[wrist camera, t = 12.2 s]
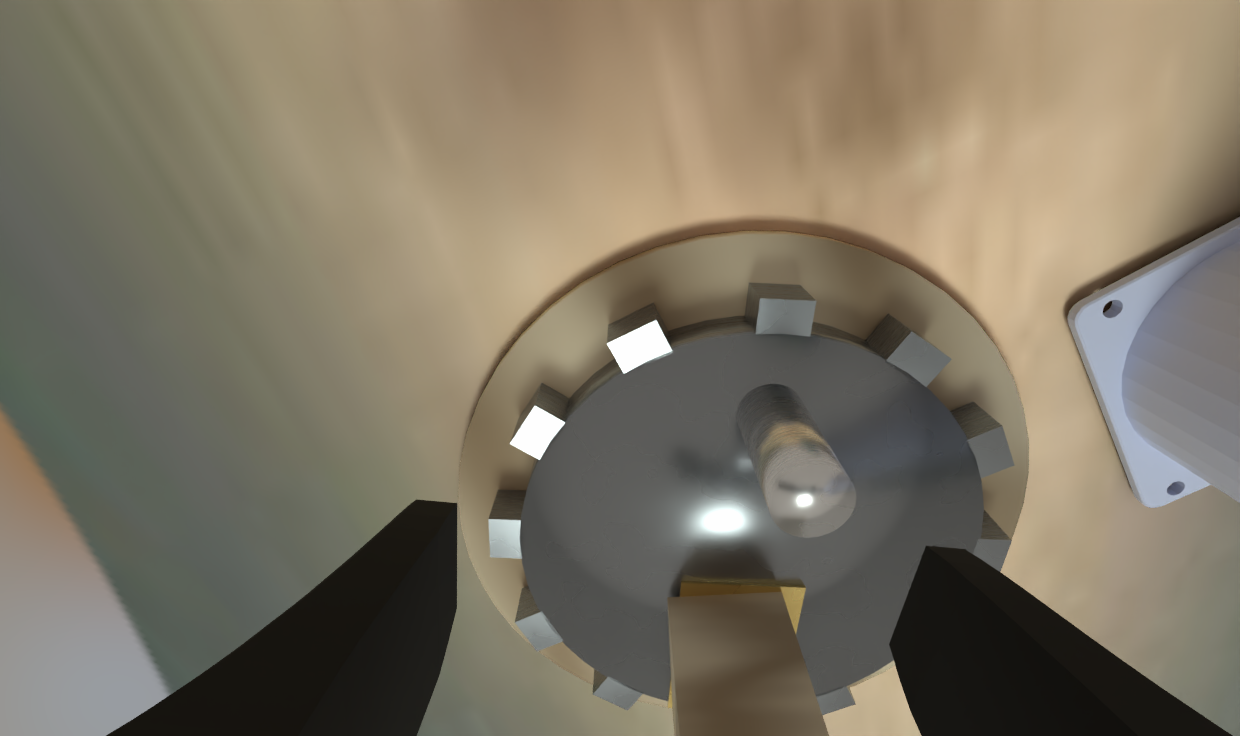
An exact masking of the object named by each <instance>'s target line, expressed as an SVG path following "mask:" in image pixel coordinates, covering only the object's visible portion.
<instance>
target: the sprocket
mask: <svg viewBox="0 0 1240 736" xmlns="http://www.w3.org/2000/svg"><path fill="white" fill-rule="evenodd" d="M815 306H816V300H815V299H814V298H813V297H812V296H811V295H810V294H809V293H808V292H807V291H806V290H805V289H804V288H803V287H802V286H801V285H792V284H771V283H749V285H748V293H747V301H746V308H745V316H733V317H726V318H719V319H712V320H705V321H702V322H698V323H694V324H690V325H687V326H683V327H679V328H676V329H673V330H670V331H668V330H667V328H666V326H665V324H664V322H663V320H662V318H661V316H660V314H659V312H658V310H657V308H656V307H655V305H654V303H651V304H649V305H647V306H645V307H643V308H641V309H639V310H637V311H635V312H633V313H631V314H629V315H627V316H625V317H623V318H621V319H619V320H617V321H615V322H612V323H610V324H608V336H607V345H608V346H609V348H610V350H611V352H612V354H613V355H614V357H615V358H614V359H613V360H612V361H610V362H609V363H608V364H606V365H605V366H604V367H602V368H601V369H600V370H598V371H597V372H596V373H594V374H593V375H592V376H591V377H590V378H589V379H588V380H587V381H586V382H585V383H584V384H583V385H582V386H581V387H580V388H579V389H578V390H577V391H576V392H575V393H573V395H572V396H571V397H570V398H568V397H566V396H565V395H563V394H561V393H559V392H558V391H556V390H554V389H552V388H551V387H549V386H547V385H545V384H543V383H541V384H540V386H539V387H538V389H537V390H536V392H535V393H534V395H533V397H532V398H531V400H530V401H529V403H528V404H527V406H526V407H525V409H524V410H523V412H522V413H521V415H520V417H519V418H518V421H517V424H516V427H515V430H514V433H513V436H512V439H511V442H510V444H511V445H513V446H514V447H516V448H518V449H520V450H522V451H524V452H526V453H527V454H529V455H531V456H533V457H535V460H534V463H533V467H532V471H531V475H530V479H529V483H528V487H527V491H523V490H499V489H498V491H497V494H496V497H495V500H494V503H493V506H492V509H491V512H490V516H489V519H488V522H489V544H490V557H492V558H518V559H522V565H523V569H524V572H525V576H526V580H527V583H528V586H526V587H524V588H522V590H521V595H520V599H519V604H518V609H517V614H516V618H515V624H516V625H517V626H518V627H519V629H520V630H521V631H522V633H523V634H524V635H525V637H526V638H527V639H528V640H529V642H530V643H531V644H532V646H533V647H534V648H535V650H536V651H540V650H542V649H545V648H547V647H550V646H553V645H555V644H558V643H560V642H563V643H564V644H565V645H566V646H567V647H568V648H569V649H570V650H571V651H572V652H574V653H575V654H576V655H577V656H578V657H579V658H580V659H581V660H583V661H584V662H585V663H587V664H588V665H589V666H591V667H592V668H594V680H593V695H595V696H597V697H600V698H602V699H604V700H606V701H608V702H611V703H613V704H615V705H617V706H619V707H621V708H624V709H626V710H628V709H629V708H630V707H631V706H632V705H633V704H634V703H635V702H636V701H637V700H638V699H639V697H640V696H641V695H642V694H645V695H647V696H651V697H654V698H658V699H661V700H665V701H668V708H672V688H671V667H670V646H669V624H668V603H667V597H685V596H706V595H727V594H747V593H768V592H782V594H783V597H784V600H785V603H786V606H787V609H788V613H789V616H790V619H791V622H792V625H793V628H794V631H795V634H796V637H797V640H798V643H799V646H800V649H801V652H802V655H803V658H804V661H805V664H806V667H807V670H808V673H809V676H810V680H811V683H812V686H813V689H814V692H815V695H816V698H817V701H818V704H819V707H820V710H821V713H822V715H824V714H827V713H830V712H833V711H836V710H839V709H842V708H845V707H848V706H851V705H854V704H855V701H854V699H853V696H852V693H851V691H850V688H849V686H848V685H851V684H853V683H855V682H857V681H859V680H861V679H863V678H865V677H867V676H869V675H871V674H873V673H875V672H876V671H878V670H879V669H881V668H883V667H884V666H886V665H887V664H889V663H890V662H892V661H893V660H894V659H893V656H892V652H891V649H890V646H889V643H890V640H891V637H892V635H893V632H894V629H895V627H896V624H897V621H898V619H899V616H900V613H901V611H902V608H903V605H904V603H905V600H906V597H907V595H908V592H909V589H910V587H911V584H912V581H913V579H914V576H915V573H916V571H917V568H918V565H919V563H920V560H921V558H922V555H923V552H924V550H925V547H926V546H937V547H948V548H959V549H965V550H967V551H969V552H970V553H972V554H973V555H975V556H977V557H978V558H980V559H981V560H983V561H984V562H986V563H987V564H989V565H990V566H992V567H993V568H995V569H996V570H998V571H999V572H1000V571H1001V568H1002V566H1003V563H1004V560H1005V558H1006V555H1007V552H1008V549H1009V547H1010V544H1011V541H1012V540H1011V539H1010V538H1009V537H1008V535H1007V534H1006V533H1005V532H1004V531H1003V530H1002V529H1001V528H1000V527H999V525H998V524H997V523H996V522H995V521H994V520H993V519H992V518H991V517H990V515H989V514H988V513H987V512H986V511H985V510H984V504H983V490H982V481H981V478H983V477H986V476H989V475H991V474H994V473H996V472H999V471H1001V470H1004V469H1007V468H1009V467H1012V466H1014V462H1013V458H1012V455H1011V452H1010V449H1009V445H1008V442H1007V439H1006V436H1005V433H1004V429H1003V426H1002V425H1001V424H1000V423H998V422H997V421H996V420H995V419H994V418H992V417H991V416H990V415H989V414H988V413H986V412H985V411H984V410H983V409H982V408H981V407H979V406H978V405H977V404H976V403H975V402H970V403H968V404H966V405H963V406H961V407H958V408H956V409H954V410H951V411H949V410H948V409H947V408H946V407H945V405H944V404H943V403H942V402H941V401H940V400H939V399H938V398H937V397H936V396H935V395H934V394H933V393H932V391H931V390H929V389H928V388H927V386H928V384H929V383H930V382H931V381H932V380H933V379H934V378H935V377H936V376H937V375H938V374H939V373H940V372H941V370H942V369H943V368H944V367H945V366H946V365H947V364H948V363H949V362H950V361H951V360H952V359H951V358H950V357H949V356H947V355H946V354H945V353H943V352H942V351H941V350H939V349H938V348H937V347H935V346H934V345H933V344H932V343H930V342H929V341H928V340H926V339H925V338H923V337H922V336H921V335H919V334H918V333H916V332H915V331H913V330H912V329H910V328H909V327H907V326H906V325H905V324H903V323H902V322H900V321H899V320H897V319H896V318H894V317H893V316H891V315H890V314H889V313H888V314H887V315H886V316H885V317H884V318H883V320H882V321H881V322H880V323H879V324H878V326H877V327H876V328H875V329H874V330H873V331H872V333H871V334H870V335H869V336H868V337H867V338H866V340H864V339H862V338H860V337H858V336H855V335H853V334H850V333H848V332H845V331H843V330H840V329H838V328H835V327H833V326H829V325H825V324H821V323H817V322H813V317H814V312H815Z"/></svg>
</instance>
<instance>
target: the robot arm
mask: <svg viewBox="0 0 1240 736" xmlns="http://www.w3.org/2000/svg"><path fill="white" fill-rule="evenodd" d="M1109 301H1112V305H1111V307H1110V309H1109V310H1107V311H1106V312H1105V313H1103V308H1104V306H1105V305H1106V304H1107V303H1108V302H1109ZM1067 318H1068V324H1069V327H1070V329H1071V332H1072V335H1073V337H1074V340H1075V342H1076V345H1077V348H1078V350H1079V353H1080V355H1081V358H1082V361H1083V363H1084V366H1085V368H1086V371H1087V374H1088V376H1089V379H1090V381H1091V384H1092V387H1093V389H1094V392H1095V394H1096V397H1097V400H1098V402H1099V405H1100V407H1101V410H1102V413H1103V415H1104V418H1105V420H1106V423H1107V426H1108V428H1109V431H1110V433H1111V436H1112V439H1113V441H1114V444H1115V446H1116V449H1117V452H1118V454H1119V457H1120V459H1121V462H1122V465H1123V467H1124V470H1125V472H1126V475H1127V478H1128V480H1129V483H1130V485H1131V488H1132V491H1133V493H1134V496H1135V497H1136V499H1137V500H1138V501H1140V502H1141V503H1142V504H1143V505H1145V506H1147V507H1149V508H1156V507H1160V506H1163V505H1166V504H1168V503H1170V502H1172V501H1175V500H1177V499H1179V498H1182V497H1184V496H1186V495H1188V494H1191V493H1193V492H1195V491H1198V490H1200V489H1202V488H1204V487H1207V486H1209V485H1213V486H1214V487H1216V488H1217V489H1219V490H1220V491H1222V492H1224V493H1225V494H1227V495H1228V496H1230V497H1231V498H1233V499H1234V500H1236V501H1238V502H1239V503H1240V217H1238V218H1236V219H1235V220H1233V221H1231V222H1229V223H1227V224H1225V225H1223V226H1221V227H1219V228H1217V229H1215V230H1214V231H1212V232H1210V233H1208V234H1206V235H1204V236H1202V237H1200V238H1198V239H1196V240H1194V241H1193V242H1191V243H1189V244H1187V245H1185V246H1183V247H1181V248H1179V249H1177V250H1175V251H1173V252H1172V253H1170V254H1168V255H1166V256H1164V257H1162V258H1160V259H1158V260H1156V261H1154V262H1152V263H1151V264H1149V265H1147V266H1145V267H1143V268H1141V269H1139V270H1137V271H1135V272H1133V273H1131V274H1130V275H1128V276H1126V277H1124V278H1122V279H1120V280H1118V281H1116V282H1114V283H1112V284H1110V285H1109V286H1107V287H1105V288H1103V289H1101V290H1099V291H1097V292H1095V293H1093V294H1091V295H1089V296H1087V297H1086V298H1084V299H1082V300H1080V301H1079V302H1077V303H1076V304H1075V305H1074V306H1073V307H1072V308H1071V310H1070V311H1069V314H1068V317H1067ZM1170 484H1172V485H1170ZM1169 485H1170V486H1169ZM456 609H457V503H448V502H437V501H426V500H415V501H414V502H413V503H411V504H410V505H409V506H408V507H406V508H405V509H404V510H403V511H402V512H401V513H400V514H399V515H397V516H396V517H395V518H394V519H393V520H392V521H391V522H390V523H389V524H387V525H386V526H385V527H384V528H383V529H382V530H381V531H380V532H379V533H378V534H376V535H375V536H374V537H373V538H372V539H371V540H370V541H369V542H367V543H366V544H365V545H364V546H363V547H362V548H361V549H360V550H358V551H357V552H356V553H355V554H354V555H353V556H352V557H350V558H349V559H348V560H347V561H346V562H345V563H343V564H342V565H341V566H340V567H339V568H337V569H336V570H335V571H334V572H333V573H332V574H330V575H329V576H328V577H327V578H326V579H324V580H323V581H322V582H321V583H320V584H319V585H317V586H316V587H315V588H314V589H313V590H311V591H310V592H309V593H308V594H307V595H305V596H304V597H303V598H302V599H300V600H299V601H298V602H297V603H295V604H294V605H293V606H292V607H290V608H289V609H288V610H286V611H285V612H284V613H283V614H281V615H280V616H279V617H277V618H276V619H275V620H273V621H272V622H271V623H270V624H268V625H267V626H266V627H264V628H263V629H262V630H261V631H259V632H258V633H257V634H255V635H254V636H253V637H251V638H250V639H249V640H248V641H246V642H245V643H244V644H242V645H241V646H240V647H238V648H237V649H236V650H234V651H233V652H231V653H230V654H229V655H227V656H226V657H225V658H223V659H222V660H220V661H219V662H218V663H216V664H215V665H213V666H212V667H211V668H209V669H208V670H206V671H205V672H203V673H202V674H201V675H199V676H198V677H196V678H195V679H193V680H192V681H191V682H189V683H188V684H186V685H185V686H183V687H182V688H180V689H179V690H177V691H176V692H174V693H173V694H171V695H170V696H168V697H167V698H165V699H164V700H162V701H161V702H159V703H158V704H156V705H155V706H153V707H152V708H150V709H148V710H147V711H145V712H144V713H142V714H141V715H139V716H138V717H136V718H134V719H133V720H131V721H130V722H128V723H126V724H125V725H123V726H121V727H120V728H118V729H116V730H115V731H113V732H111V733H110V734H108V735H107V736H417V733H418V731H419V728H420V725H421V723H422V720H423V717H424V715H425V712H426V709H427V707H428V704H429V701H430V699H431V696H432V693H433V691H434V688H435V685H436V683H437V680H438V677H439V674H440V671H441V667H442V663H443V660H444V656H445V652H446V648H447V645H448V641H449V637H450V633H451V629H452V625H453V621H454V617H455V613H456ZM889 646H890V649H891V652H892V656H893V659H894V662H895V665H896V669H897V672H898V675H899V678H900V682H901V684H902V687H903V690H904V693H905V696H906V699H907V702H908V705H909V708H910V711H911V713H912V715H913V718H914V720H915V722H916V724H917V726H918V729H919V731H920V733H921V735H922V736H1232V735H1231V734H1229V733H1228V732H1226V731H1225V730H1223V729H1222V728H1220V727H1219V726H1217V725H1216V724H1214V723H1213V722H1211V721H1210V720H1208V719H1207V718H1205V717H1204V716H1202V715H1201V714H1199V713H1198V712H1196V711H1195V710H1193V709H1192V708H1190V707H1189V706H1187V705H1186V704H1184V703H1183V702H1182V701H1180V700H1179V699H1177V698H1176V697H1174V696H1173V695H1171V694H1170V693H1168V692H1167V691H1165V690H1164V689H1162V688H1161V687H1159V686H1158V685H1157V684H1155V683H1154V682H1152V681H1151V680H1149V679H1148V678H1146V677H1145V676H1144V675H1142V674H1141V673H1139V672H1138V671H1136V670H1135V669H1134V668H1132V667H1131V666H1129V665H1128V664H1127V663H1125V662H1124V661H1122V660H1121V659H1119V658H1118V657H1117V656H1115V655H1114V654H1112V653H1111V652H1110V651H1108V650H1107V649H1106V648H1104V647H1103V646H1101V645H1100V644H1099V643H1097V642H1096V641H1094V640H1093V639H1092V638H1090V637H1089V636H1087V635H1086V634H1085V633H1083V632H1082V631H1081V630H1079V629H1078V628H1076V627H1075V626H1074V625H1072V624H1071V623H1070V622H1068V621H1067V620H1065V619H1064V618H1063V617H1061V616H1060V615H1059V614H1057V613H1056V612H1055V611H1053V610H1052V609H1050V608H1049V607H1048V606H1046V605H1045V604H1044V603H1042V602H1041V601H1039V600H1038V599H1037V598H1035V597H1034V596H1033V595H1031V594H1030V593H1028V592H1027V591H1026V590H1024V589H1023V588H1022V587H1020V586H1019V585H1017V584H1016V583H1015V582H1013V581H1012V580H1010V579H1009V578H1008V577H1006V576H1005V575H1003V574H1002V573H1000V572H999V571H998V570H996V569H995V568H993V567H992V566H990V565H989V564H987V563H986V562H984V561H983V560H981V559H980V558H978V557H977V556H975V555H973V554H972V553H970V552H969V551H967V550H965V549H959V548H948V547H937V546H926V547H925V550H924V552H923V555H922V558H921V560H920V563H919V565H918V568H917V571H916V573H915V576H914V579H913V581H912V584H911V587H910V589H909V592H908V595H907V597H906V600H905V603H904V605H903V608H902V611H901V613H900V616H899V619H898V621H897V624H896V627H895V629H894V632H893V635H892V637H891V640H890V643H889Z"/></svg>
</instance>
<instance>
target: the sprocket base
mask: <svg viewBox="0 0 1240 736" xmlns="http://www.w3.org/2000/svg"><path fill="white" fill-rule="evenodd" d="M749 283H771V284H792V285H801V286H802V287H803V288H804V289H805V290H806V291H807V292H808V293H809V294H810V295H811V296H812V297H813V298H814V299H815V300H816V306H815V312H814V317H813V322H817V323H821V324H825V325H829V326H833V327H835V328H838V329H840V330H843V331H845V332H848V333H850V334H853V335H855V336H858V337H860V338H862V339H864V340H866V338H867V337H868V336H869V335H870V334H871V333H872V331H873V330H874V329H875V328H876V327H877V326H878V324H879V323H880V322H881V321H882V320H883V318H884V317H885V316H886V315H887V314H888V313H889V314H890V315H891V316H893V317H894V318H896V319H897V320H899V321H900V322H902V323H903V324H905V325H906V326H907V327H909V328H910V329H912V330H913V331H915V332H916V333H918V334H919V335H921V336H922V337H923V338H925V339H926V340H928V341H929V342H930V343H932V344H933V345H934V346H935V347H937V348H938V349H939V350H941V351H942V352H943V353H945V354H946V355H947V356H949V357H950V358H951V359H952V360H951V361H950V362H949V363H948V364H947V365H946V366H945V367H944V368H943V369H942V370H941V372H940V373H939V374H938V375H937V376H936V377H935V378H934V379H933V380H932V381H931V382H930V383H929V384H928V386H927V388H928V389H929V390H931V391H932V393H933V394H934V395H935V396H936V397H937V398H938V399H939V400H940V401H941V402H942V403H943V404H944V405H945V407H946V408H947V409H948V410H949V411H951V410H954V409H956V408H958V407H961V406H963V405H966V404H968V403H970V402H975V403H976V404H977V405H978V406H979V407H981V408H982V409H983V410H984V411H985V412H986V413H988V414H989V415H990V416H991V417H992V418H994V419H995V420H996V421H997V422H998V423H1000V424H1001V425H1002V426H1003V429H1004V433H1005V436H1006V439H1007V442H1008V445H1009V449H1010V452H1011V455H1012V458H1013V462H1014V466H1012V467H1009V468H1007V469H1004V470H1001V471H999V472H996V473H994V474H991V475H989V476H986V477H983V478H981V481H982V490H983V504H984V510H985V511H986V512H987V513H988V514H989V515H990V517H991V518H992V519H993V520H994V521H995V522H996V523H997V524H998V525H999V527H1000V528H1001V529H1002V530H1003V531H1004V532H1005V533H1006V534H1007V535H1008V537H1009V538H1010V539H1012V536H1013V534H1014V531H1015V528H1016V525H1017V522H1018V519H1019V516H1020V513H1021V510H1022V507H1023V503H1024V497H1025V491H1026V485H1027V479H1028V468H1029V440H1028V433H1027V427H1026V421H1025V414H1024V408H1023V405H1022V402H1021V400H1020V397H1019V394H1018V391H1017V388H1016V385H1015V382H1014V379H1013V376H1012V374H1011V373H1010V371H1009V369H1008V367H1007V365H1006V363H1005V362H1004V360H1003V358H1002V356H1001V354H1000V352H999V351H998V349H997V347H996V345H995V344H994V343H993V342H992V340H991V339H990V338H989V337H988V335H987V334H986V333H985V331H984V330H983V329H982V328H981V326H980V325H979V324H978V323H977V321H976V320H975V319H974V318H973V317H972V316H971V315H970V314H969V313H968V312H967V311H966V310H965V309H963V308H962V307H961V306H960V305H959V304H958V303H957V302H956V301H955V300H954V299H953V298H951V297H950V296H949V295H948V294H947V293H946V292H944V291H943V290H941V289H940V288H938V287H937V286H935V285H934V284H932V283H931V282H929V281H928V280H926V279H925V278H923V277H922V276H920V275H918V274H917V273H915V272H914V271H912V270H910V269H909V268H907V267H905V266H903V265H901V264H899V263H897V262H895V261H892V260H890V259H888V258H886V257H884V256H881V255H879V254H877V253H875V252H873V251H871V250H868V249H865V248H862V247H859V246H855V245H852V244H848V243H845V242H842V241H838V240H835V239H831V238H828V237H821V236H815V235H808V234H801V233H795V232H788V231H736V232H727V233H719V234H710V235H702V236H697V237H693V238H689V239H685V240H681V241H677V242H673V243H669V244H665V245H661V246H657V247H655V248H652V249H650V250H647V251H645V252H642V253H640V254H637V255H635V256H632V257H630V258H627V259H624V260H622V261H619V262H617V263H616V264H614V265H612V266H610V267H608V268H606V269H605V270H603V271H601V272H599V273H597V274H596V275H594V276H592V277H590V278H588V279H587V280H585V281H583V282H581V283H580V284H579V285H577V286H576V287H575V288H573V289H572V290H571V291H569V292H568V293H567V294H565V295H564V296H563V297H561V298H560V299H558V300H557V301H556V302H554V303H553V304H552V305H550V306H549V307H548V308H547V309H546V310H545V311H544V312H543V313H542V314H541V315H540V316H539V317H538V318H537V319H536V320H535V321H534V322H533V323H532V324H531V325H530V326H529V327H528V328H527V329H526V330H525V331H524V332H523V333H522V334H521V335H520V337H519V338H518V339H517V340H516V342H515V343H514V344H513V346H512V347H511V348H510V350H509V351H508V352H507V353H506V355H505V356H504V357H503V359H502V360H501V361H500V363H499V364H498V366H497V368H496V370H495V372H494V373H493V375H492V377H491V379H490V381H489V382H488V384H487V386H486V388H485V389H484V391H483V393H482V395H481V397H480V399H479V401H478V404H477V407H476V409H475V412H474V415H473V417H472V420H471V422H470V425H469V428H468V430H467V433H466V438H465V442H464V447H463V452H462V457H461V462H460V470H459V490H458V500H459V509H460V519H461V527H462V531H463V535H464V539H465V542H466V546H467V550H468V554H469V557H470V559H471V561H472V564H473V566H474V568H475V570H476V573H477V575H478V577H479V580H480V582H481V584H482V585H483V587H484V589H485V590H486V592H487V593H488V595H489V597H490V598H491V600H492V602H493V603H494V605H495V606H496V608H497V609H498V610H499V611H500V613H501V614H502V615H503V616H504V617H505V619H506V620H507V621H508V622H509V624H510V625H511V626H512V627H513V628H514V630H515V631H517V632H518V633H519V634H520V635H521V636H522V637H523V638H524V639H525V640H526V641H527V642H528V643H529V644H531V643H530V642H529V640H528V639H527V638H526V637H525V635H524V634H523V633H522V631H521V630H520V629H519V627H518V626H517V625H516V624H515V618H516V614H517V609H518V604H519V599H520V595H521V590H522V588H524V587H526V586H528V583H527V580H526V576H525V572H524V569H523V565H522V559H518V558H492V557H490V544H489V522H488V519H489V516H490V512H491V509H492V506H493V503H494V500H495V497H496V494H497V491H498V489H499V490H523V491H527V487H528V483H529V479H530V475H531V471H532V467H533V463H534V460H535V457H533V456H531V455H529V454H527V453H526V452H524V451H522V450H520V449H518V448H516V447H514V446H513V445H511V444H510V442H511V439H512V436H513V433H514V430H515V427H516V424H517V421H518V418H519V417H520V415H521V413H522V412H523V410H524V409H525V407H526V406H527V404H528V403H529V401H530V400H531V398H532V397H533V395H534V393H535V392H536V390H537V389H538V387H539V386H540V384H541V383H543V384H545V385H547V386H549V387H551V388H552V389H554V390H556V391H558V392H559V393H561V394H563V395H565V396H566V397H568V398H570V397H571V396H572V395H573V393H575V392H576V391H577V390H578V389H579V388H580V387H581V386H582V385H583V384H584V383H585V382H586V381H587V380H588V379H589V378H590V377H591V376H592V375H593V374H594V373H596V372H597V371H598V370H600V369H601V368H602V367H604V366H605V365H606V364H608V363H609V362H610V361H612V360H613V359H614V358H615V357H614V355H613V354H612V352H611V350H610V348H609V346H608V345H607V336H608V324H610V323H612V322H615V321H617V320H619V319H621V318H623V317H625V316H627V315H629V314H631V313H633V312H635V311H637V310H639V309H641V308H643V307H645V306H647V305H649V304H651V303H654V305H655V307H656V308H657V310H658V312H659V314H660V316H661V318H662V320H663V322H664V324H665V326H666V328H667V330H668V331H670V330H673V329H676V328H679V327H683V326H687V325H690V324H694V323H698V322H702V321H705V320H712V319H719V318H726V317H733V316H745V308H746V301H747V293H748V285H749ZM531 645H532V644H531ZM539 652H540V653H541V654H543V655H544V656H545V657H547V658H548V659H550V660H551V661H552V662H554V663H555V664H557V665H558V666H559V667H561V668H563V669H564V670H566V671H568V672H570V673H572V674H573V675H575V676H577V677H579V678H580V679H582V680H584V681H586V682H588V683H591V684H593V680H594V668H592V667H591V666H589V665H588V664H587V663H585V662H584V661H583V660H581V659H580V658H579V657H578V656H577V655H576V654H575V653H574V652H572V651H571V650H570V649H569V648H568V647H567V646H566V645H565V644H564V643H563V642H560V643H558V644H555V645H553V646H550V647H547V648H545V649H542V650H540V651H539ZM893 666H895V662H894V660H893V661H892V662H890V663H889V664H887V665H886V666H884V667H883V668H881V669H879V670H878V671H876V672H875V673H873V674H871V675H869V676H867V677H865V678H863V679H861V680H859V681H857V682H855V683H853V684H851V685H848V686H849V688H850V687H852V686H855V685H857V684H860V683H862V682H864V681H866V680H868V679H870V678H872V677H874V676H876V675H878V674H880V673H883V672H885V671H886V670H888V669H890V668H891V667H893ZM637 701H640V702H644V703H649V704H654V705H659V706H664V707H668V701H665V700H661V699H658V698H654V697H651V696H647V695H645V694H642V695H641V696H640V697H639V699H638V700H637Z"/></svg>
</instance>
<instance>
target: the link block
mask: <svg viewBox="0 0 1240 736" xmlns="http://www.w3.org/2000/svg"><path fill="white" fill-rule="evenodd" d="M667 603H668V624H669V646H670V667H671V688H672V709H673V722H674V734H675V736H829V734H828V731H827V728H826V725H825V722H824V719H823V716H822V713H821V710H820V707H819V704H818V701H817V698H816V695H815V692H814V689H813V686H812V683H811V680H810V676H809V673H808V670H807V667H806V664H805V661H804V658H803V655H802V652H801V649H800V646H799V643H798V640H797V637H796V634H795V631H794V628H793V625H792V622H791V619H790V616H789V613H788V609H787V606H786V603H785V600H784V597H783V594H782V592H768V593H747V594H727V595H706V596H685V597H667Z"/></svg>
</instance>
